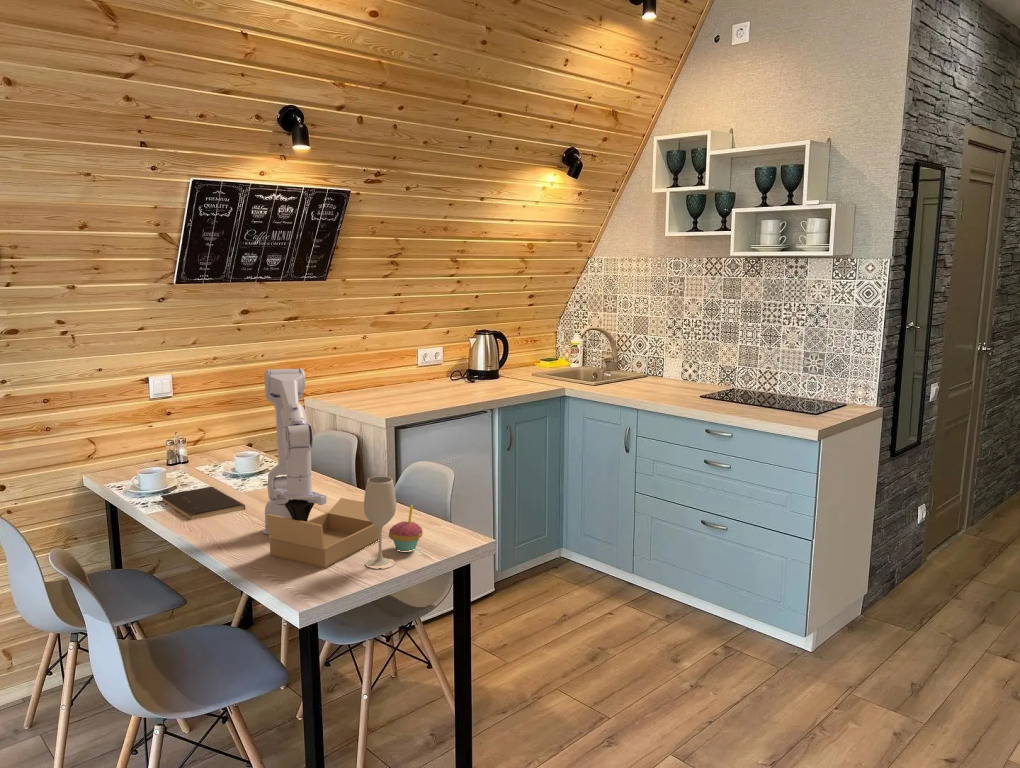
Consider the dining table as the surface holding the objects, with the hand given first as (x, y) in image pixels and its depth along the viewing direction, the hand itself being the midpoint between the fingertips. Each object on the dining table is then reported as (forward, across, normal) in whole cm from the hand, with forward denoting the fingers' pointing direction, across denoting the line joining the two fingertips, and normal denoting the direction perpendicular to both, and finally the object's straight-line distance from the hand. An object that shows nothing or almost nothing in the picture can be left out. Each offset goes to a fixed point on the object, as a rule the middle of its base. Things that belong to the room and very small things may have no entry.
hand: (300, 529), depth 187 cm
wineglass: (+8, +17, +8) cm, 21 cm away
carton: (+8, -1, +10) cm, 13 cm away
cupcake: (+8, +17, +19) cm, 27 cm away
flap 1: (0, -1, -1) cm, 1 cm away
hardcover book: (+7, -55, +21) cm, 59 cm away
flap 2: (+1, 0, +24) cm, 24 cm away
